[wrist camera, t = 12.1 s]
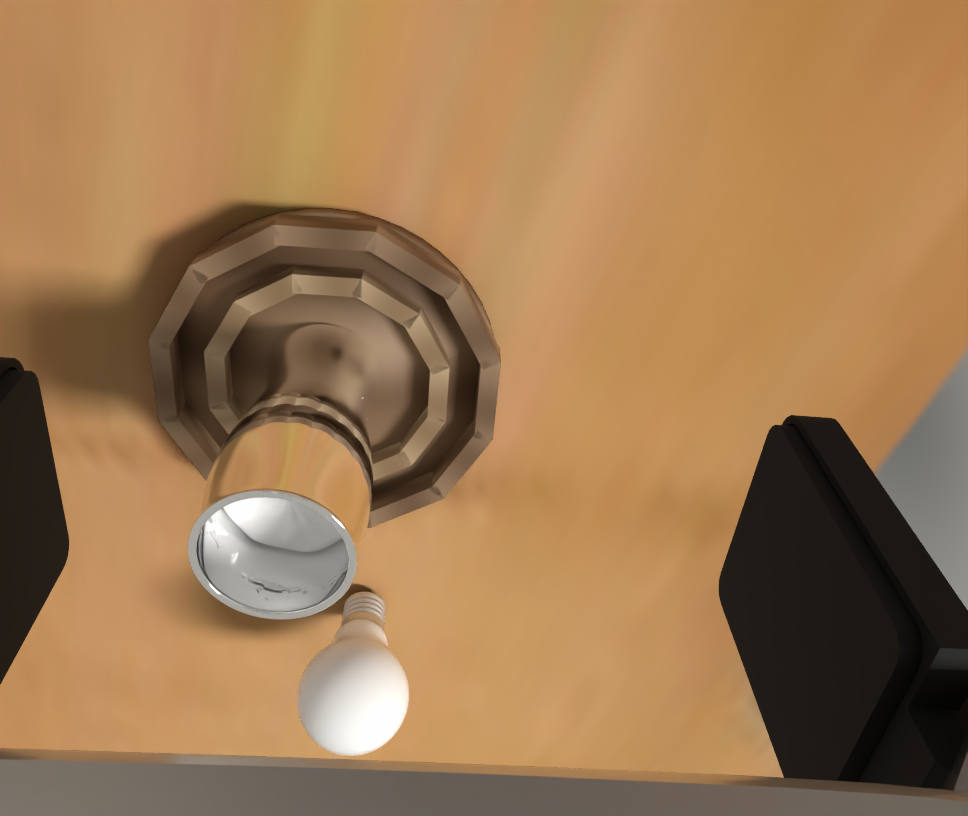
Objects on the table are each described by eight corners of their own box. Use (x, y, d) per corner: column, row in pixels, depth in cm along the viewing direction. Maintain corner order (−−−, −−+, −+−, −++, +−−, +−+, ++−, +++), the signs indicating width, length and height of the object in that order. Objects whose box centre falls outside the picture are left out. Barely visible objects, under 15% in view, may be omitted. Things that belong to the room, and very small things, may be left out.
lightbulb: (428, 621, 58) (422, 765, 48) (339, 644, 59) (316, 790, 49) (394, 552, 55) (380, 691, 45) (300, 577, 55) (268, 719, 46)
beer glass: (302, 446, 49) (247, 645, 36) (233, 347, 46) (144, 527, 33) (412, 399, 48) (394, 589, 35) (348, 293, 44) (302, 460, 32)
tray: (146, 195, 43) (129, 212, 40) (512, 221, 44) (515, 239, 41) (181, 491, 52) (169, 519, 50) (483, 507, 53) (484, 534, 51)
